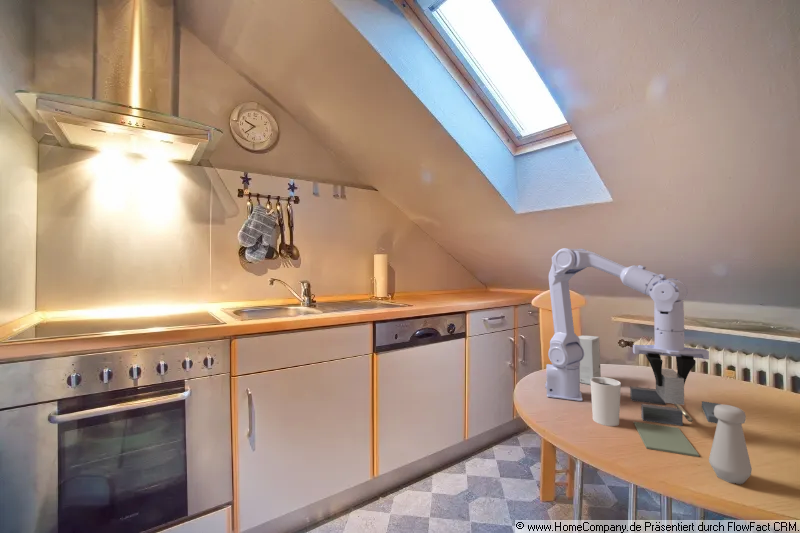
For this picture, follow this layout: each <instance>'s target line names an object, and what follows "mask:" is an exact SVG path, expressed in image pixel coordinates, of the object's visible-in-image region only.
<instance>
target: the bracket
mask: <svg viewBox="0 0 800 533" xmlns="http://www.w3.org/2000/svg"><path fill="white" fill-rule="evenodd" d="M716 405H722V404H721V403H716V402H709V401H704V400H703V401H701V409H702V411H703V413H704V415H705V418H706V420H707V422H708V423H711V424H717V423H718V419H717V418H716V417H715V415H714V408H715V406H716Z"/></svg>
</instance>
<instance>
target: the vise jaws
mask: <svg viewBox="0 0 800 533" xmlns="http://www.w3.org/2000/svg"><path fill="white" fill-rule="evenodd" d="M629 388H630V389H629V391H630V393H629V395H630V396H629V397H630V401H631V402H638V403H640V404H641V405H640V406H641V412H640V414H641V417H640V418H641V419H642V421H644V422H650V423H659V424H664V425H665V424H666V425H671V426H672V425H674V426H680V427H684V425H683V423H684V422H683V419H684V418H685V419H686V420H687V421H688V422H690V423H692V422H693V420H694V418H692V417H691V416H690V415H689V413H688V411H686V410H685V409H684V408H683V407H682V406H681V404H673V405H674V407H670V406H666V405H667V403H665V402H664V401H663V400H662V398H661V397H660V396H659V395H658V394H657V392H656V388H649V387H640V386H639V387H638V386H630V387H629ZM645 403H646V404H645ZM653 404H654V405H653ZM655 404H657V405H655ZM661 405H665V406H661ZM683 416H684V418H683Z"/></svg>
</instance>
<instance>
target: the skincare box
mask: <svg viewBox="0 0 800 533" xmlns="http://www.w3.org/2000/svg"><path fill="white" fill-rule="evenodd" d="M577 336H578V337H579V339H580V344H581V346H582V348H583V350H584V357H583V359H582V360H581V361H580V384H581V383H582V384H585V385H590V386H591V381H590V380H591V378H593V377H602V374H601V373H602V372H601V351H600V350H601V349H600V343H601V341H600V336H595V335H594V336H593V335H584V334H583V335H577Z"/></svg>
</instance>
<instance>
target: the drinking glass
mask: <svg viewBox="0 0 800 533" xmlns="http://www.w3.org/2000/svg"><path fill="white" fill-rule="evenodd" d="M590 381H591V385H590V392H591V394H590V396H591V409H592V413H591V414H592V420H593V422H595V423H597V424H599V425H602V426H606V427H617V426H619V424H620V411H621V408H620V407H621V387H622V385H621V382H620V381H619V380H617V379H614V378H609V377H604V376H603V377H602V376H601V377H593V378H591V380H590Z"/></svg>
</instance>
